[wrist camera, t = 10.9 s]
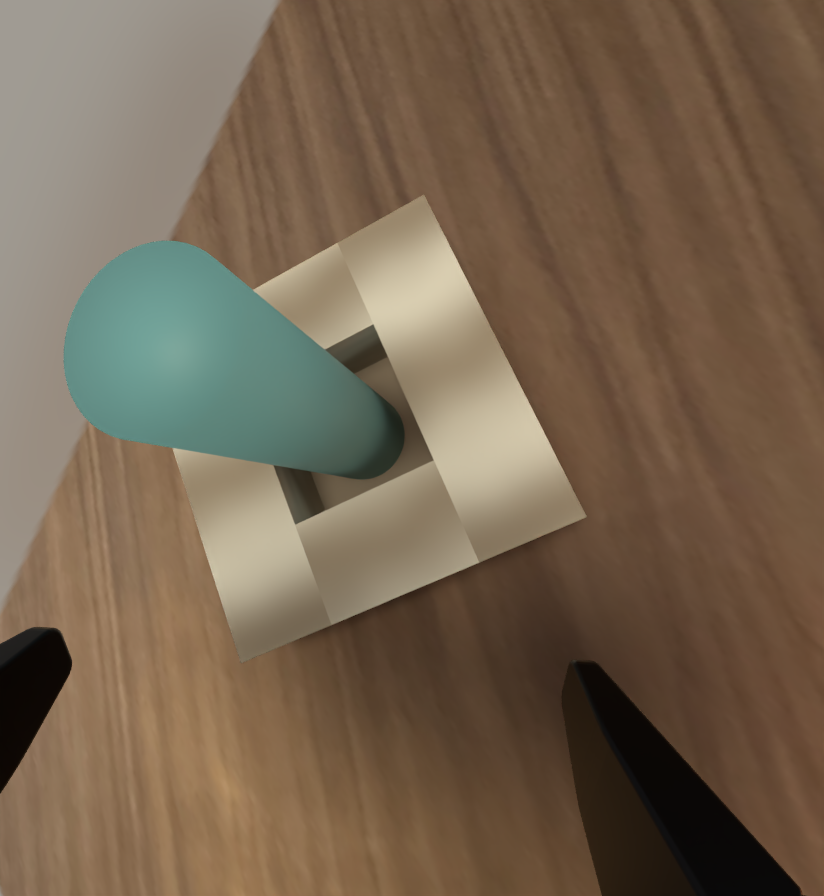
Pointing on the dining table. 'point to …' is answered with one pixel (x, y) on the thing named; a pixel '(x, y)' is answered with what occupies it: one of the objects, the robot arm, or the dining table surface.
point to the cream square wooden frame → (416, 470)
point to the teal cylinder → (217, 370)
